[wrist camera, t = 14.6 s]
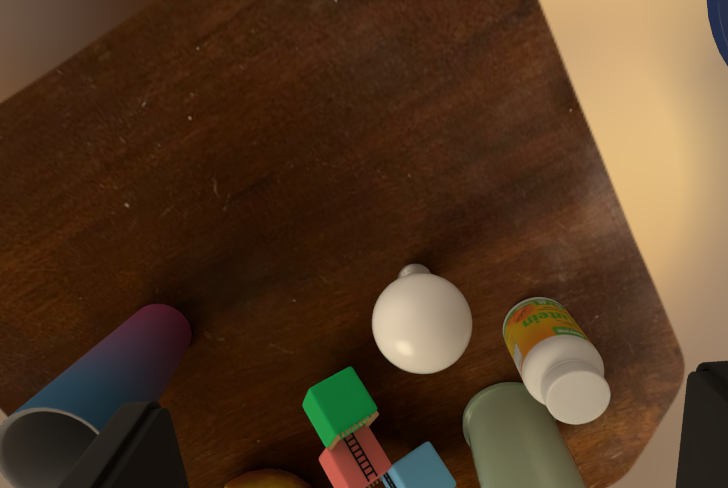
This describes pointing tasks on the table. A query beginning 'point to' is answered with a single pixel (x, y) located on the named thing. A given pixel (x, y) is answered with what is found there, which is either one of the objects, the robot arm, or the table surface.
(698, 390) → the robot arm
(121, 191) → the table surface
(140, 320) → the cup
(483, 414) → the upturned tumbler
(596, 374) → the supplement bottle
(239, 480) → the fruit
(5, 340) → the table surface
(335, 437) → the building blocks
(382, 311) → the lightbulb
